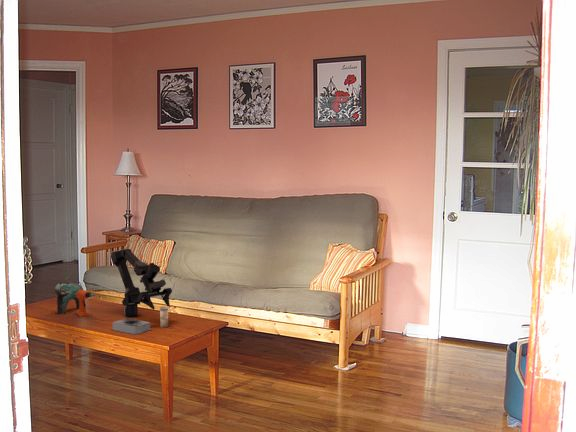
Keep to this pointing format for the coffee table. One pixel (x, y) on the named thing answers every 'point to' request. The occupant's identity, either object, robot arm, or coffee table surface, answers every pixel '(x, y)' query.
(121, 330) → the socket block
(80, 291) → the toy drill
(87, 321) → the coffee table surface
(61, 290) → the green power drill
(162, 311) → the pin
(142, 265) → the robot arm
